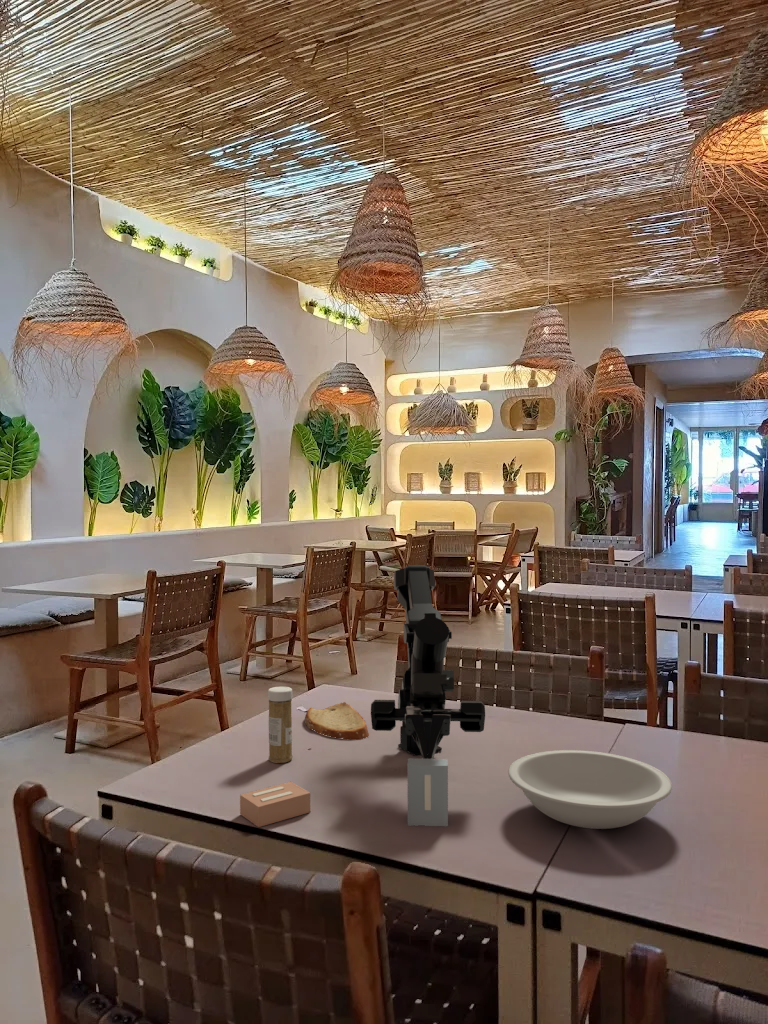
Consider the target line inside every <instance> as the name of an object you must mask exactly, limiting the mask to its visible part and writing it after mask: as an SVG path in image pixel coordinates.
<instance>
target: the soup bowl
mask: <svg viewBox="0 0 768 1024" xmlns="http://www.w3.org/2000/svg"><path fill="white" fill-rule="evenodd" d="M507 772H508V777H509V779H510V780H511V782H512V783H513V785H515V786H516V787H518V788H519V789H520V790H522V792H523V794H524V796H526V798H527V799H528V801H530V803H531V804H532V805H533V806H534V807H535V808H536V809H537V810H538V811H540V812H541V813H543V815H546V816H547V817H549V818H551V819H553V820H555V821H558V822H560V823H562V824H566V825H570V826H573V827H577V828H578V827H579V828H582V829H583V828H584V829H593V830H594V829H595V830H596V829H597V830H599V829H601V830H607V829H616V828H622V827H626V826H629V825H631V824H633V823H636V822H637V821H639V820H641V819H642V818H644V817H645V816H646V815H648V814H650V812H651V811H652V810H653V809H654V807H656V805H657V804H658V803H660V802H661V801H663V800H665V799H666V798H667V797H668V796H670V794H671V792H672V790H673V783H672V781H671V779H670V778H669V776H667V774H666V773H664V772H663V771H662V770H660V769H658V768H656V767H654V765H653V766H652V765H651V764H649V763H646V762H643V761H640V760H638V759H634V758H631V757H628V756H623V755H618V754H615V753H614V754H613V753H608V752H600V751H593V750H592V751H591V750H580V749H577V750H576V749H561V750H560V749H558V750H557V749H556V750H547V751H539V752H536V753H531V754H528V755H524V756H522V757H519V758H518V759H516V760H514V761H513V762H512V763H511V764H510V766H509V768H508V771H507Z"/></svg>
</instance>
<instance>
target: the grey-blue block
mask: <svg viewBox="0 0 768 1024" xmlns="http://www.w3.org/2000/svg"><path fill="white" fill-rule="evenodd" d="M406 767H407V826H411V825H415V827H417V826H418V825H425V826H424V827H449V797H448V796H449V770H448V769H449V764H448V758H433V759H423V758H407V766H406Z"/></svg>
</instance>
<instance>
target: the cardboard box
mask: <svg viewBox="0 0 768 1024" xmlns="http://www.w3.org/2000/svg"><path fill="white" fill-rule="evenodd" d="M239 805H240V806H239V814H240V816H242V817H243V818H245V819H246V820H247V821H249V822H251V823H252V824H254V826H256V827H257V828H260V827H264V826H265V827H266V826H268V825H271V824H274V823H277V822H281V821H284V820H285V821H286V820H288V819H291V818H295V817H298V816H301V815H305V814H309V813H311V792H310V791H309V790H306V789H304V788H303V787H301V786H299V785H297V784H296V783H294V782H292V781H288V782H284V783H280V784H276V785H272V786H269V787H264V788H261V789H257V790H253V791H250V792H245V793H242V794H240V795H239Z"/></svg>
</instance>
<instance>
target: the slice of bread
mask: <svg viewBox="0 0 768 1024" xmlns="http://www.w3.org/2000/svg"><path fill="white" fill-rule="evenodd" d="M304 723H306V724H305V725H307V726H308V727H309V728H310V729H313V730H315V731H316V732H318V733H321V734H324V735H327V736H331V737H336V738H335V739H337V738H343V739H342V740H347V739H356V740H363V738H364V739H367V738H369V737H370V733H369V730H368V729H369V728H368V726H367V723H366V720H364V717H363V716H362V715H361V714H360V712H358V711H357V710H356V709H355V708H354V707H352V706H351V705H350V704H348V703H347V702H345V701H343V702H340V703H337V704H334V705H331V706H328V707H326V708H325V707H324V708H323V709H316V708H314V707H309V708H308V710H307V711H306V713H305V716H304ZM307 726H306V727H307ZM308 727H307V728H308ZM309 728H308V729H309ZM310 729H309V730H310ZM313 730H312V731H313ZM315 731H314V732H315ZM316 732H315V733H316ZM318 733H317V734H318ZM321 734H320V735H321ZM324 735H323V736H324ZM327 736H326V737H327ZM368 736H369V737H368ZM331 737H330V738H331ZM366 737H367V738H366Z"/></svg>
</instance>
